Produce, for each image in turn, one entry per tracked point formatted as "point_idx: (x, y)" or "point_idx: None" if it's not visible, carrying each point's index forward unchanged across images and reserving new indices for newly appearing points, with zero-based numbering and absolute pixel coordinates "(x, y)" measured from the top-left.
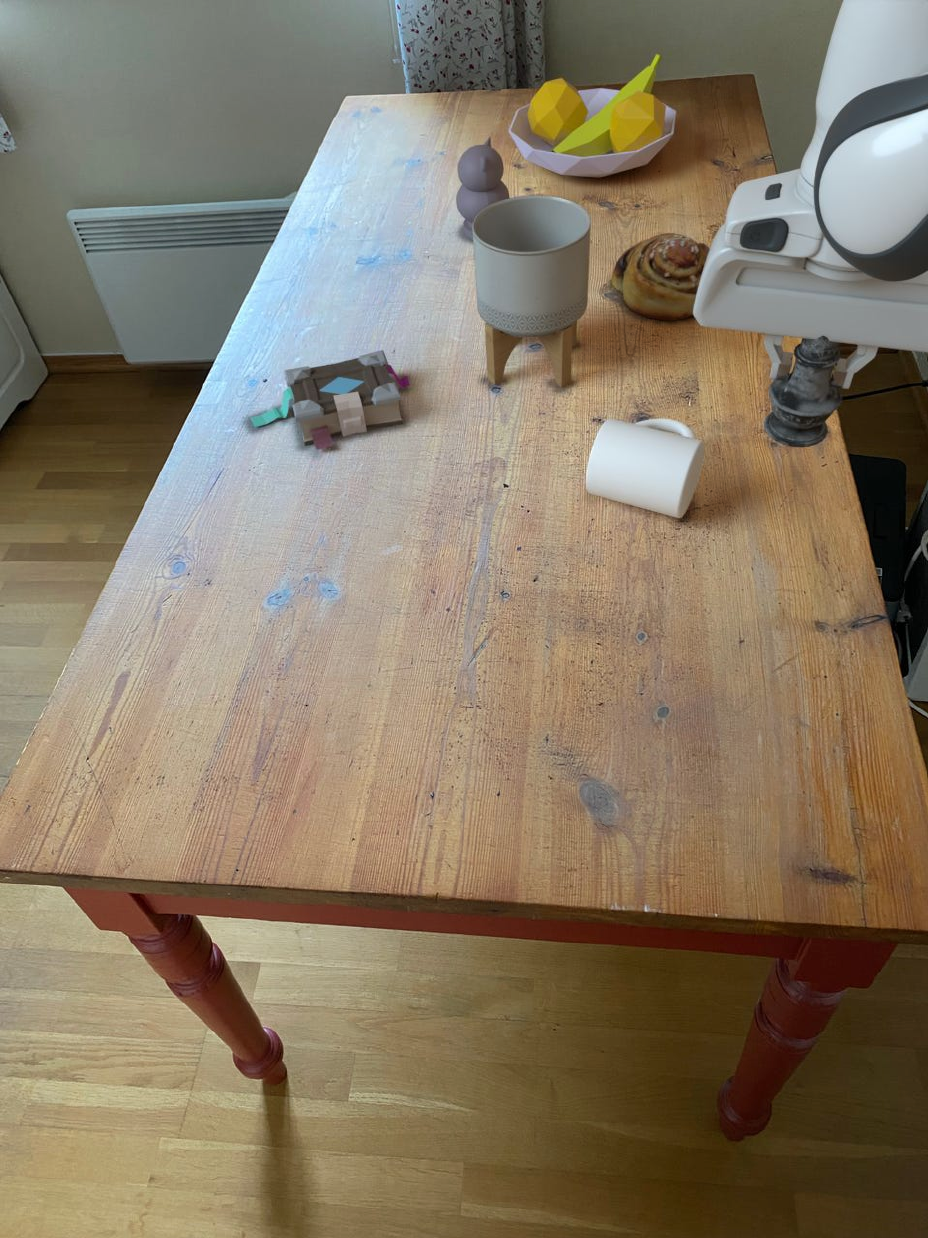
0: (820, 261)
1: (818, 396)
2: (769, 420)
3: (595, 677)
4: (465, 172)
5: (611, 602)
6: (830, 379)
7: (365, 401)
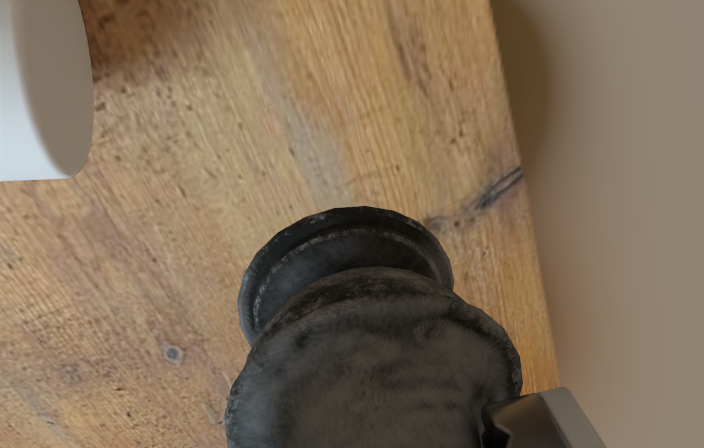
0: None
1: None
2: (258, 335)
3: (148, 429)
4: None
5: (89, 321)
6: (482, 418)
7: None
